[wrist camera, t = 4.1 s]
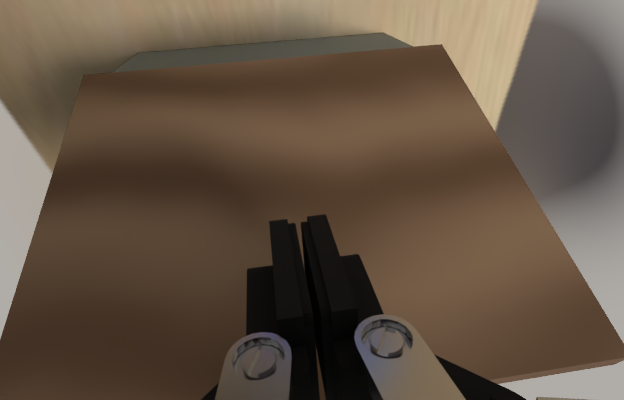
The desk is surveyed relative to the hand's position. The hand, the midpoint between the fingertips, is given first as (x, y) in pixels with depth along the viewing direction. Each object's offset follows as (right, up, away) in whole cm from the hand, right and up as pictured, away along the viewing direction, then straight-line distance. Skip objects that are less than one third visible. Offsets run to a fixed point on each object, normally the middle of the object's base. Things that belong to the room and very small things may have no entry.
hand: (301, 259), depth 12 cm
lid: (-1, +1, +5) cm, 5 cm away
